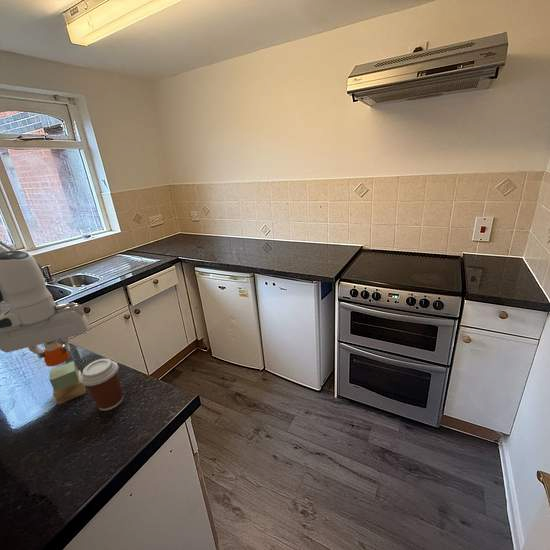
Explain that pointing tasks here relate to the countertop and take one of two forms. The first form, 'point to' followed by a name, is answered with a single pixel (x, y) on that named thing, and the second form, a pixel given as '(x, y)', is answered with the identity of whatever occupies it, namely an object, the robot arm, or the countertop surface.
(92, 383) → the coffee cup
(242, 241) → the countertop surface
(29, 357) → the countertop surface
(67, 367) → the top block
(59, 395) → the base block
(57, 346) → the cone
